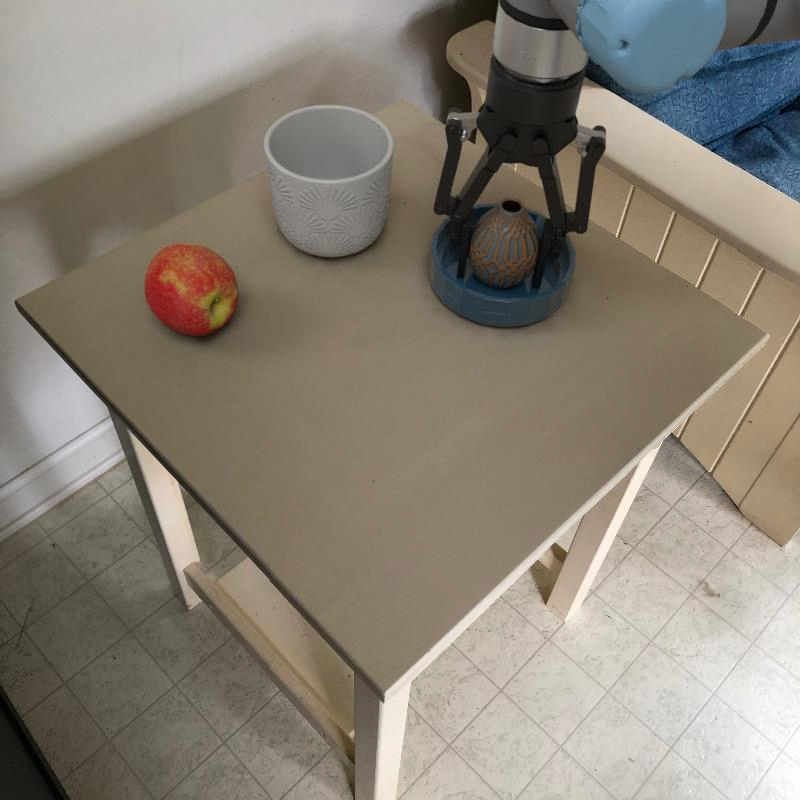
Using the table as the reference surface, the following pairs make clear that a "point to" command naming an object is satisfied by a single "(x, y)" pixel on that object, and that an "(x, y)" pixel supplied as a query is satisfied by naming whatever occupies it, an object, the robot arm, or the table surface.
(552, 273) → the bowl
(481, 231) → the vase
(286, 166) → the planter
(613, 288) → the table surface
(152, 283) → the apple
